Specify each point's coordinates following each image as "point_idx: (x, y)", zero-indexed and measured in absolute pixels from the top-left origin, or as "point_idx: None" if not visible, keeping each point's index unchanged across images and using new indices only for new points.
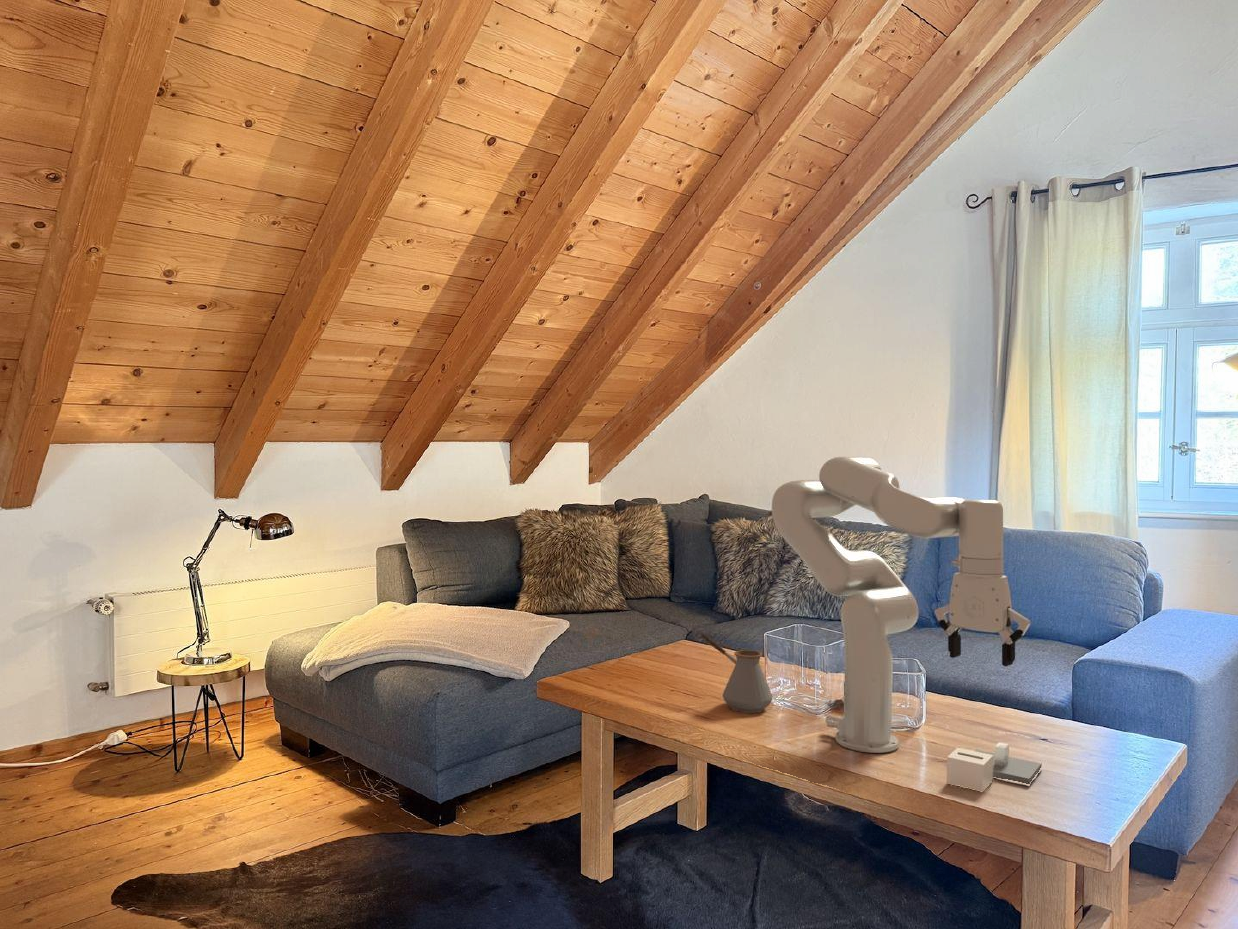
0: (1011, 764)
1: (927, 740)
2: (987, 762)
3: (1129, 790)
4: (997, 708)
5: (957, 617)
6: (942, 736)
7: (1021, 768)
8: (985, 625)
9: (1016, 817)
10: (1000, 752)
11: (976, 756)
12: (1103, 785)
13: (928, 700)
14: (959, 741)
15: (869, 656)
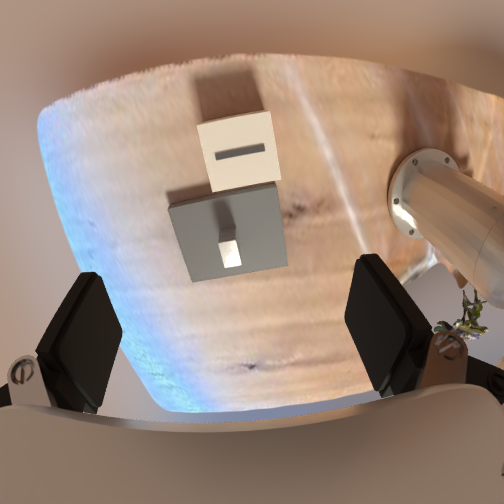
0: (217, 246)
1: None
2: (203, 151)
3: None
4: (327, 398)
5: (464, 476)
6: None
7: (198, 241)
8: (71, 469)
9: (124, 78)
10: (225, 237)
11: (227, 154)
12: (123, 285)
13: None
14: (329, 297)
15: None
